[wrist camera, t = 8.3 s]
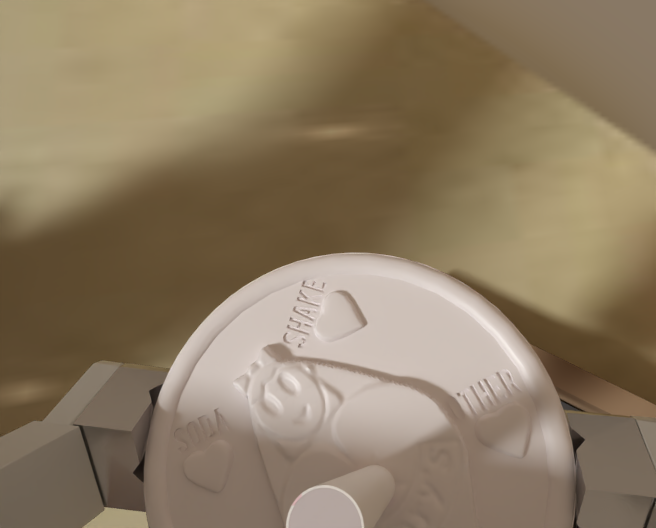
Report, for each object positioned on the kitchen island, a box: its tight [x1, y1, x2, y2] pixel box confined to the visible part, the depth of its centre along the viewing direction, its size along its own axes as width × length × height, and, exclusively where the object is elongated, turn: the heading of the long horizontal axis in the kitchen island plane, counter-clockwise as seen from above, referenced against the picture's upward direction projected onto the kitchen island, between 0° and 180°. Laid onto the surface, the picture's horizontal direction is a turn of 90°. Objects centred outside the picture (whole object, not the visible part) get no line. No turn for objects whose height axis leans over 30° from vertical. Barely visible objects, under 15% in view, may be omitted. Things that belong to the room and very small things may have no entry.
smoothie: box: [144, 253, 576, 528], centre depth 11 cm, size 6×6×14 cm
